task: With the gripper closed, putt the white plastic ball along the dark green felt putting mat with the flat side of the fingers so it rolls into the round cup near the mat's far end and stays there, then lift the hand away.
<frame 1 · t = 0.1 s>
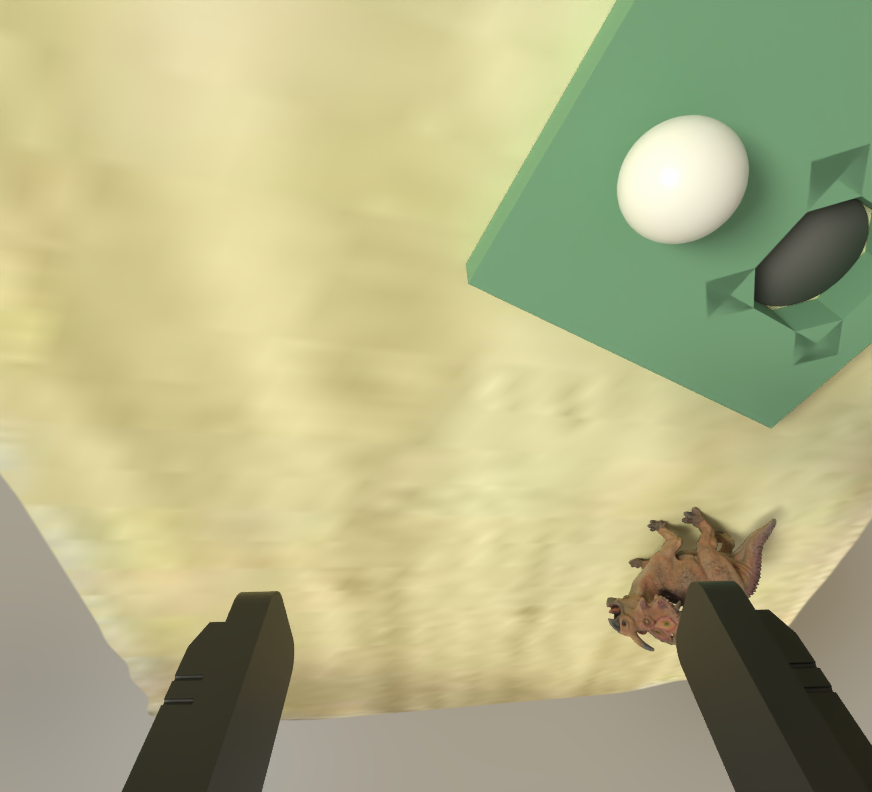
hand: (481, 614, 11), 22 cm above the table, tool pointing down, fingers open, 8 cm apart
dinosaur figurine: (674, 532, 44), on the table
putting mat: (732, 209, 28), on the table
ball: (679, 182, 22), point 5 cm above the table, touching putting mat
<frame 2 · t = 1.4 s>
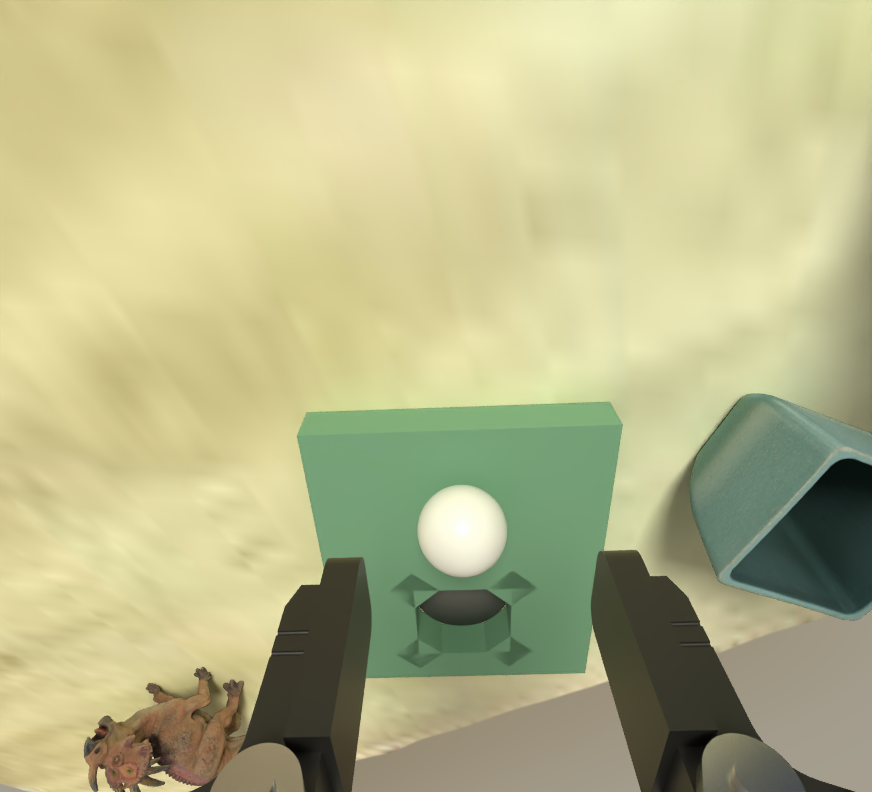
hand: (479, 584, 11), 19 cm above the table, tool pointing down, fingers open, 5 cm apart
dinosaur figurine: (207, 687, 45), on the table
putting mat: (460, 543, 37), on the table
flower pot: (749, 437, 33), on the table
ball: (462, 530, 30), point 5 cm above the table, touching putting mat
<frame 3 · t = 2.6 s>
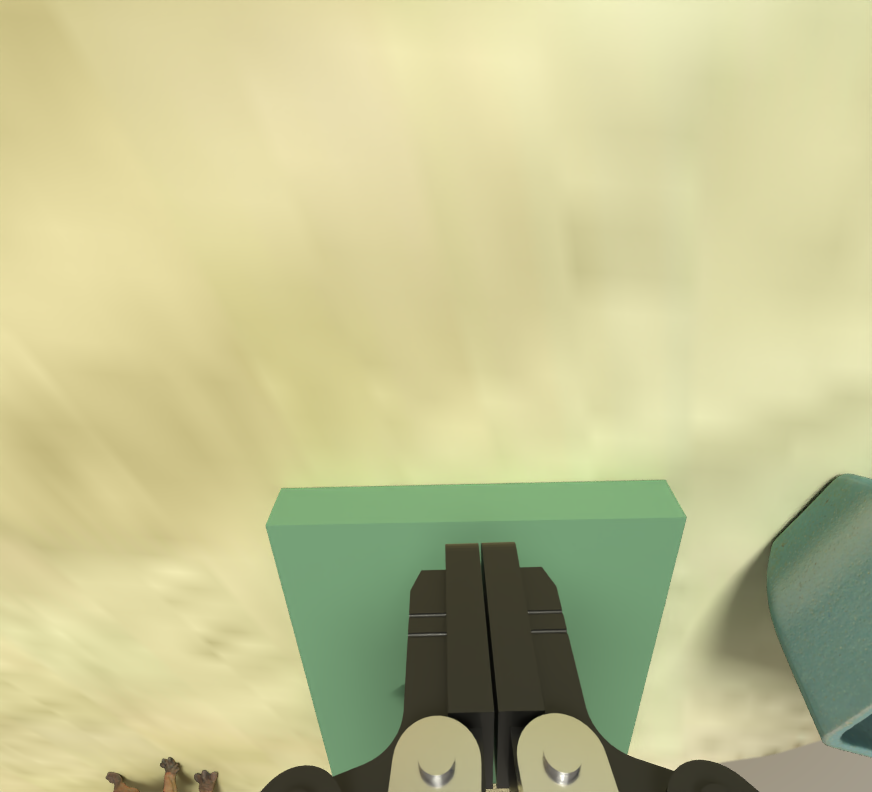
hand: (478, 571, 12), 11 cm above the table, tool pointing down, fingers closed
dinosaur figurine: (176, 775, 39), on the table
putting mat: (472, 635, 30), on the table
flower pot: (840, 521, 26), on the table
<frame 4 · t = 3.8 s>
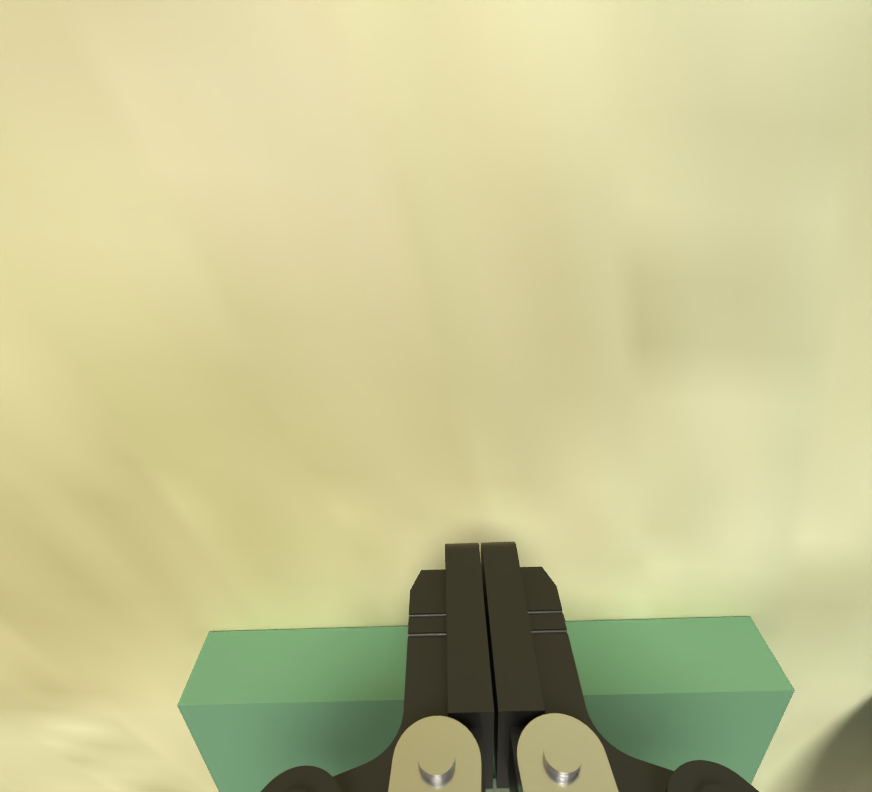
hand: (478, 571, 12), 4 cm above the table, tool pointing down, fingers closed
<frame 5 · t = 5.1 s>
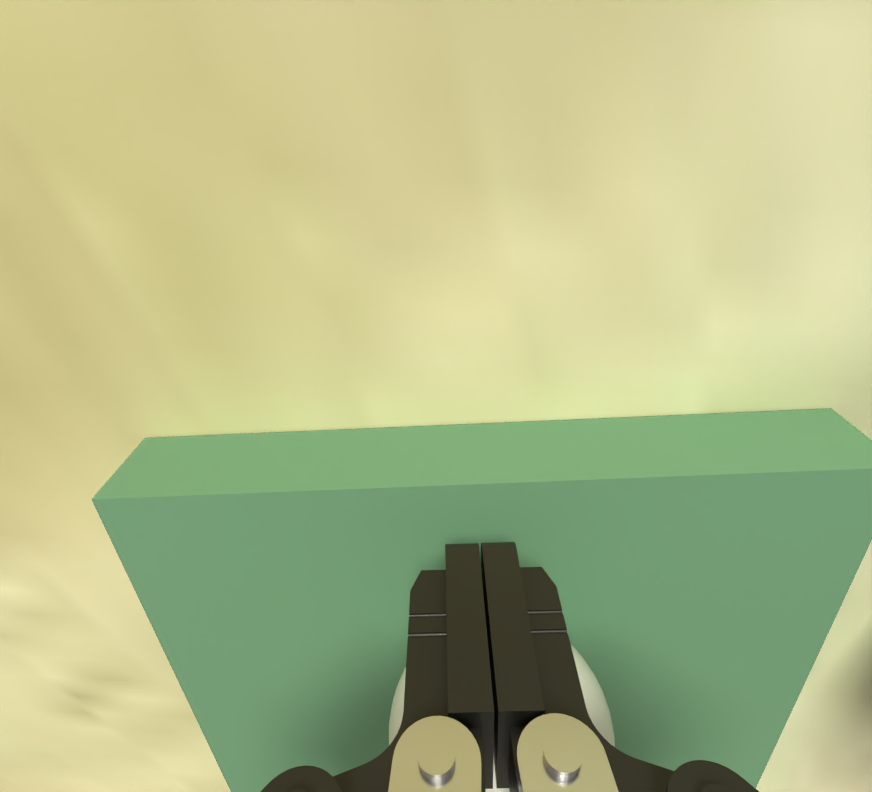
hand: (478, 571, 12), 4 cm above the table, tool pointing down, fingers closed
putting mat: (485, 679, 19), on the table
ball: (499, 729, 12), point 5 cm above the table, touching gripper
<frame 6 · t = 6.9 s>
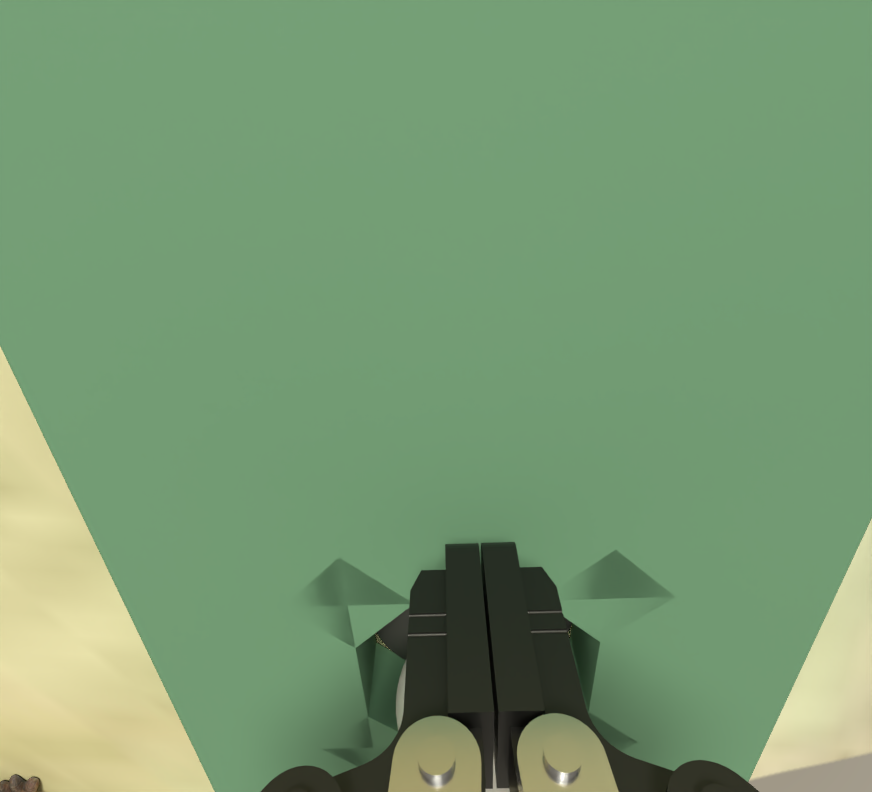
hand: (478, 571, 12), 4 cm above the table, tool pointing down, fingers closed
putting mat: (470, 486, 15), on the table
ball: (482, 702, 15), point 3 cm above the table, tilted 109°, touching putting mat
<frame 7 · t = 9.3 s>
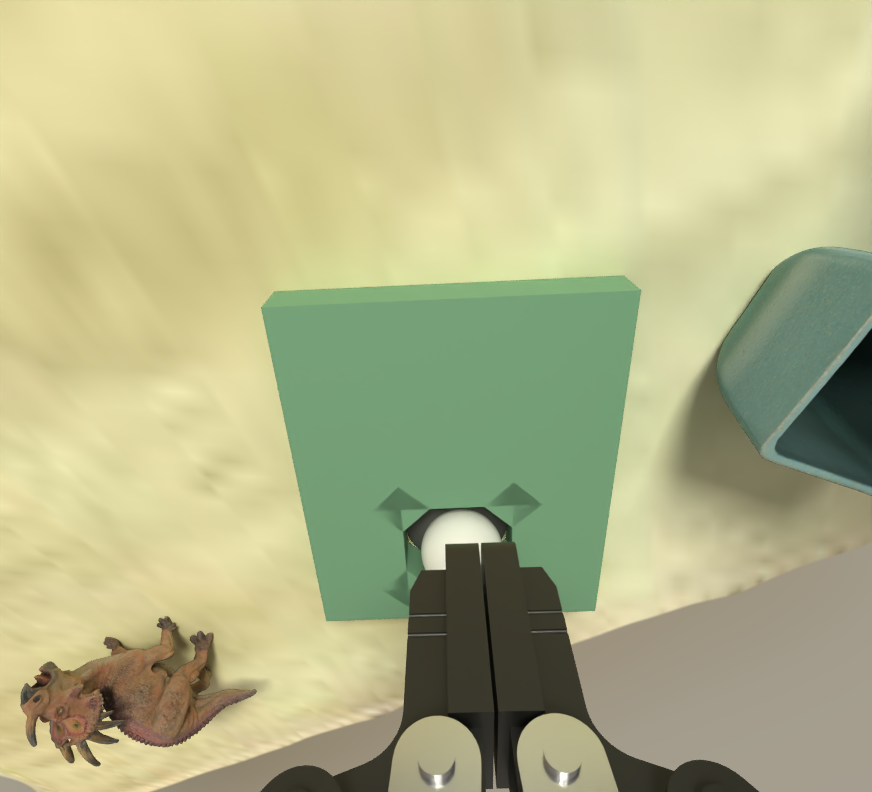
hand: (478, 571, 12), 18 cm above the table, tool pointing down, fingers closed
dinosaur figurine: (172, 641, 41), on the table
putting mat: (454, 459, 33), on the table
flower pot: (781, 321, 29), on the table
ball: (461, 550, 32), point 3 cm above the table, tilted 128°, touching putting mat
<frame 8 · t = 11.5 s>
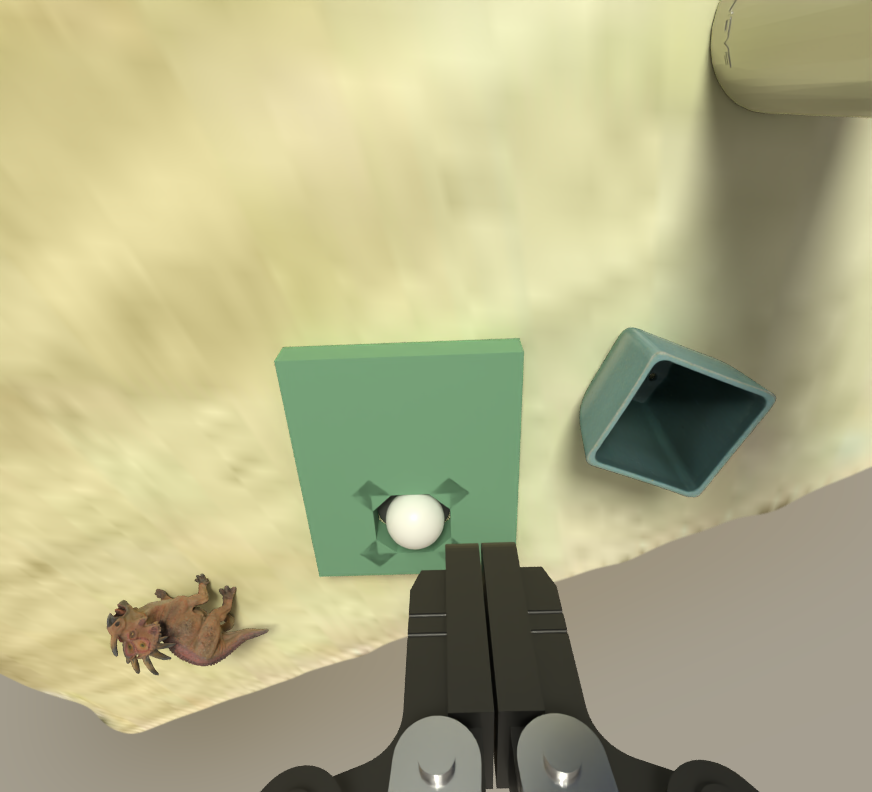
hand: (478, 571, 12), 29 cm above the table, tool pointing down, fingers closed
dinosaur figurine: (205, 593, 54), on the table
putting mat: (410, 460, 46), on the table
flower pot: (632, 368, 42), on the table
ball: (415, 519, 45), point 3 cm above the table, tilted 143°, touching putting mat
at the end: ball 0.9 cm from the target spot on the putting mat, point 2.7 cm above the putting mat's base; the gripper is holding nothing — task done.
